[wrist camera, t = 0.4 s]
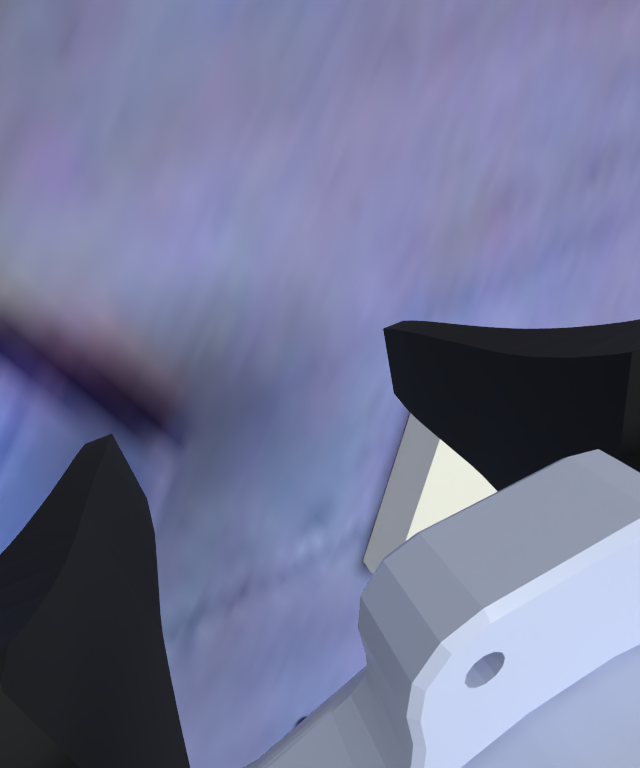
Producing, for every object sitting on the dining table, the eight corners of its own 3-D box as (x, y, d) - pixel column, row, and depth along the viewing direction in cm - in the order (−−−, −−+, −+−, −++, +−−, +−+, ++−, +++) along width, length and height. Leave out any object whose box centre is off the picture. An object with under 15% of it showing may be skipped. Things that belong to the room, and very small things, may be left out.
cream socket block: (591, 567, 36) (627, 593, 33) (362, 561, 28) (387, 595, 25) (653, 419, 34) (698, 434, 31) (425, 365, 26) (459, 380, 23)
